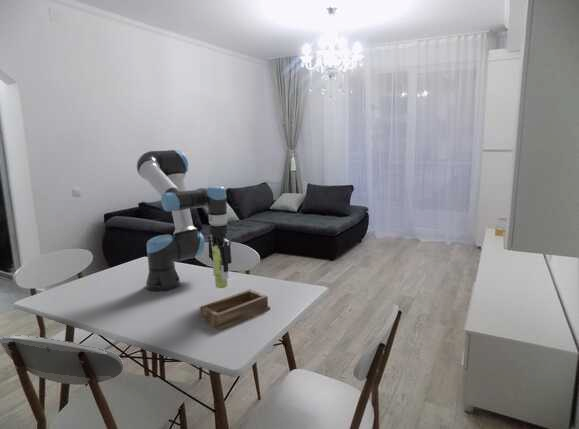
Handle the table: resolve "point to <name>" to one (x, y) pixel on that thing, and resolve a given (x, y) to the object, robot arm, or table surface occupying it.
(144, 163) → the robot arm
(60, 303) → the table surface
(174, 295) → the table surface
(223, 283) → the tube
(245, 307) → the tray
